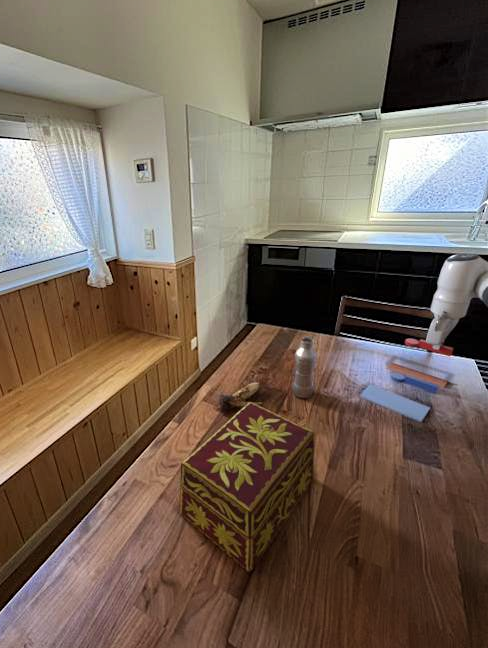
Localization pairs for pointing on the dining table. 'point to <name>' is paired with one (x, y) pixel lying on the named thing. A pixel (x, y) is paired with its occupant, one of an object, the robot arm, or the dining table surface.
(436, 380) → the terracotta mat
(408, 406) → the blue mat
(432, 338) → the robot arm
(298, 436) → the decorative box
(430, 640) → the dining table surface
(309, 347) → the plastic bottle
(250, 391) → the worn brush
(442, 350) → the red spoon
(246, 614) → the dining table surface
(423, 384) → the blue spoon
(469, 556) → the dining table surface
